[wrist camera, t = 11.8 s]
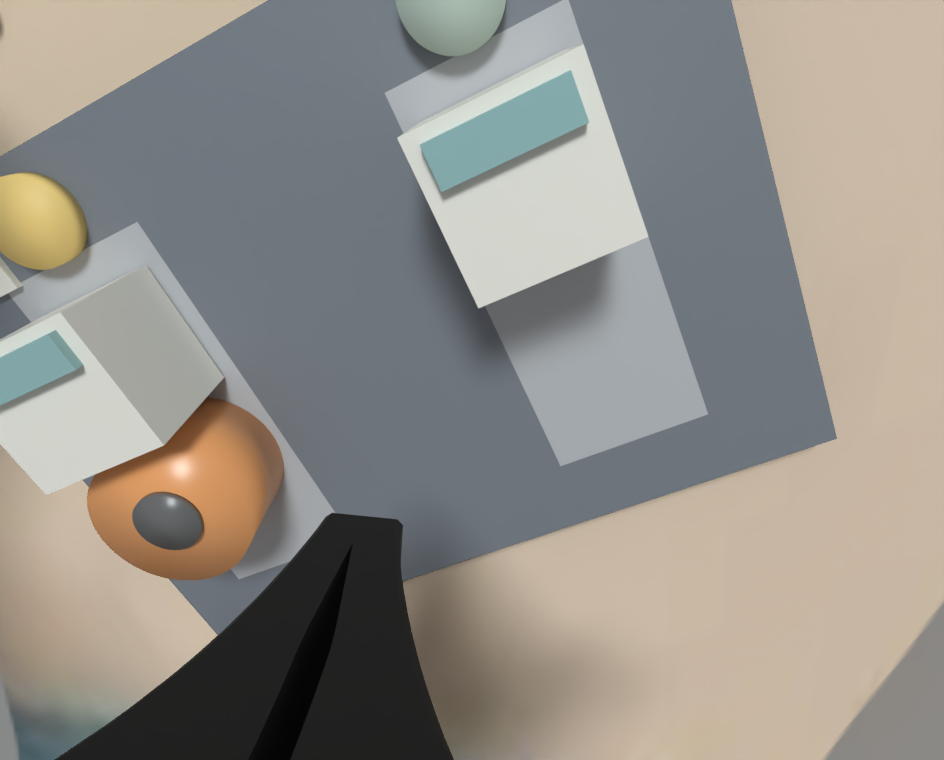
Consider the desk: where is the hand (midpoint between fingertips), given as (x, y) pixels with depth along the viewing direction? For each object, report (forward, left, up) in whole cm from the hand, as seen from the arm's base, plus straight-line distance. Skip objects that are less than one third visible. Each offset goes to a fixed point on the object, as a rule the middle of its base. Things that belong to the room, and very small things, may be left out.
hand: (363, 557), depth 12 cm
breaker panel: (-1, -1, -10) cm, 10 cm away
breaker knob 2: (-4, +5, -9) cm, 11 cm away
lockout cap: (0, -8, -9) cm, 12 cm away
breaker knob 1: (-4, -8, -9) cm, 12 cm away
